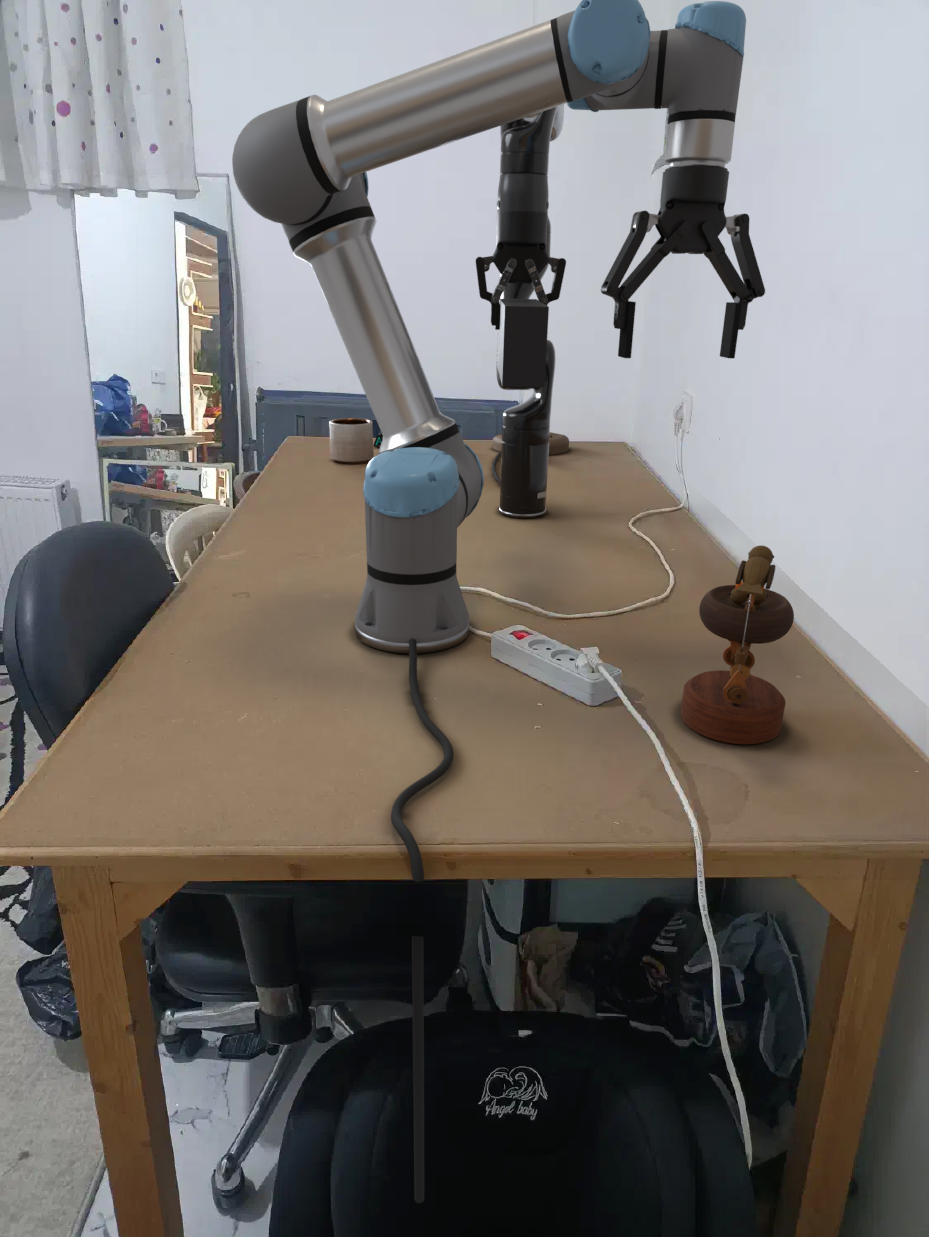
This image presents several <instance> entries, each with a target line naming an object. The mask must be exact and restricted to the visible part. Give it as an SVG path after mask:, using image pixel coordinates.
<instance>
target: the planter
mask: <svg viewBox="0 0 929 1237" xmlns="http://www.w3.org/2000/svg"><path fill="white" fill-rule="evenodd" d="M328 424H329V425H328V426H329V453H330V454H329V455H330V456H329V457H330V459H331V460H332V461H333V462H335V463H341V464H363V463H367V462H368V463H369V462H370V461H371V459H373V458H374V457H375V455H374V452H375V451H374V450H375V449H374V430H373V429H374V428H373V420H371V419H369V418H362V417H361V418H360V417H342V418H341V417H340V418H335V419H334V418H333V419H331V420H329V421H328Z"/></svg>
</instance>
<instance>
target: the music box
mask: <svg viewBox="0 0 929 1237" xmlns="http://www.w3.org/2000/svg"><path fill="white" fill-rule="evenodd" d="M747 556H748V559H747V560H741V562H740V564H739V567H738V570H737V574H736V577H735V581H734V582H735V583H734V584H725V585H719V586H715V587H714V588H711V589H710V590H709V591H707V592H706V593H705V594H704V596H703V597H702V599H701V600H700V604H699V609H698V612H699V618H700V620H701V622H702V624H703V626H704V627H705V628H706V629H707V630H708V631H709V632H710V633H712V634H714V635H715V636H717V637H719V638H721V639H724V640H727V641H728V642H729V643H730V645H729V646H727V647H726V648H725V649H724V650H723V653H722V658H723V661H724V663H725V664H726V665H728V666H730V668H729V670H724V669H723V670H722V669H721V670H719V669H718V670H709V671H704V672H700V673H698V674H697V675H695V676H692V677H691V678H690V679H688V680H687V681H686V682H685V683H684V686H683V692H682V699H681V708H680V716H681V717H680V718H681V719H682V721H683V722H684V724H685V725H686V726H687V727H689V729H691V730H693V731H694V732H696V733H697V734H699V735H701V736H704V737H706V738H709V739H712V740H715V741H718V742H723V743H728V744H735V745H757V744H761V743H762V744H763V743H766V742H769V741H772V740H774V739H775V738H776V737H777V736H778V735H779V734H780V733H781V730H782V725H783V719H784V713H785V709H786V698H785V697H784V695H783V694H782V692H780V690H779V689H778V688H777V687H776V686H775V685H773V684H772V683H770V682H769V681H767V680H765V679H763V678H761V677H759V676H756V675H753V674H751V669H752V668H753V667H754V665H755V663H756V658H755V655H754V653H753V652H752V651H751V650H750V649H751V647H752V645H761V644H769V643H773V642H775V641H778V640H781V639H782V638H783V637H785V636H787V634H788V633H789V632H790V630H791V629H792V627H793V625H794V620H795V613H794V609H793V606H792V604H791V602H790V601H789V600H788V598H786V597H785V596H784V595H783V594H781V593H778V592H776V591H774V590H771V587H772V584H773V581H774V578H775V572H776V565H775V564H772V563H773V561H774V560H773V559H775V555H774V554H773V552H772V550H771V549H770V548H769V547H768V546H765V545H756V546H754V547H752V549H750V551H749V552H748V553H747Z"/></svg>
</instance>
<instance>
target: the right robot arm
mask: <svg viewBox="0 0 929 1237" xmlns="http://www.w3.org/2000/svg"><path fill="white" fill-rule="evenodd" d="M564 118H565V104H562V105H559V106H556V107H554V108H551V109H548V110H545V111H542V112H539V113H536V114H533V115H530V116H527V117H524V118H521V119H519V120H516V121H513V122H510V123H507V124H504V125H501V126H499V136H500V157H499V158H500V159H499V160H500V161H499V182H498V187H497V199H496V236H495V237H496V238H495V240H496V241H495V242H496V243H495V250H494V252H493V254H492V255H488V256H483V257H482V256H477V257H476V258H475V268H476V269H475V270H476V276H477V284H478V293H479V298H480V299H482V300H485V301H487V302H489V303H490V323H491V326H494V330H495V331H497V336H498V335H499V330H500V299H531V296H532V295H533V294H534V293H535V295H536V297H537V298H536V299H537V300H538V301H540V302H542V303H543V304H545V305H547V306H549V304H550V303H552V302H555V301H557V300H559V299H560V296H561V292H562V285H563V280H564V277H565V276H564V275H565V271H566V266H567V259H566V258H563V257H561V258H560V257H559V258H557V257H553V256H551V245H552V244H551V243H552V242H551V241H552V224H551V220H550V217H549V208H550V202H549V197H550V196H549V192H550V190H549V176H548V175H549V164H550V162H549V161H550V145H551V142H554V141H555V140H557V139H558V138H559V137H560V135H561V133H562V130H563V126H564ZM491 264H494V266H495V267H496V269H497V270H498V272H499V279H498V282H497V284H496V286H495V288H494V290H493V292H490V291H488V287H487V277H486V273H487V272H489V271H490V267H491ZM549 266H550V272H551V273H553V280H552V284H551V289H550V292H548V293H546V292H545V289H544V286H543V282H542V279H543V278H544V276H545V274H546V272H547V271H548V268H549ZM496 343H497V344H496V360H495V363H496V364H495V371H496V373H495V374H496V379H497V384H498V386H499V388H500V389H501V390H505V391H533V392H532V395H531V396H530V397H529V398H527V399H526V400H525V401H523V402H521V403H519V404H517V405H514V406H512V407H511V406H510V407H508V408H506V409H505V410H504V411H503V412H502V419H501V420H502V422H501V425H502V426H501V434H502V449H501V451H498V453H497V454H496V455H495V457H494V459H493V460H492V463H491V472H492V475H493V477H494V479H495V480H496V482H497V483H498V484H499V486H500V487H499V488H500V489H499V507H498V512H499V513H500V515H503V516H507V517H511V518H516V519H517V518H518V519H532V518H538V517H543V516H545V515H546V513H547V508H546V507H547V506H546V505H547V495H548V494H547V492H548V491H547V489H548V470H549V455H548V454H549V434H550V432H551V416H552V402H553V392H554V382H555V373H556V348H555V345H554V343H553V342H552V341H551V340H550V339H547V352H546V370H545V387H544V388H537V387H502V384H501V379H500V375H499V371H498V367H497V366H498V342H496ZM500 457H501V458H500ZM499 459H500V476H499V475H498V473H497V470H496V465H497V462H498V460H499Z"/></svg>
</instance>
